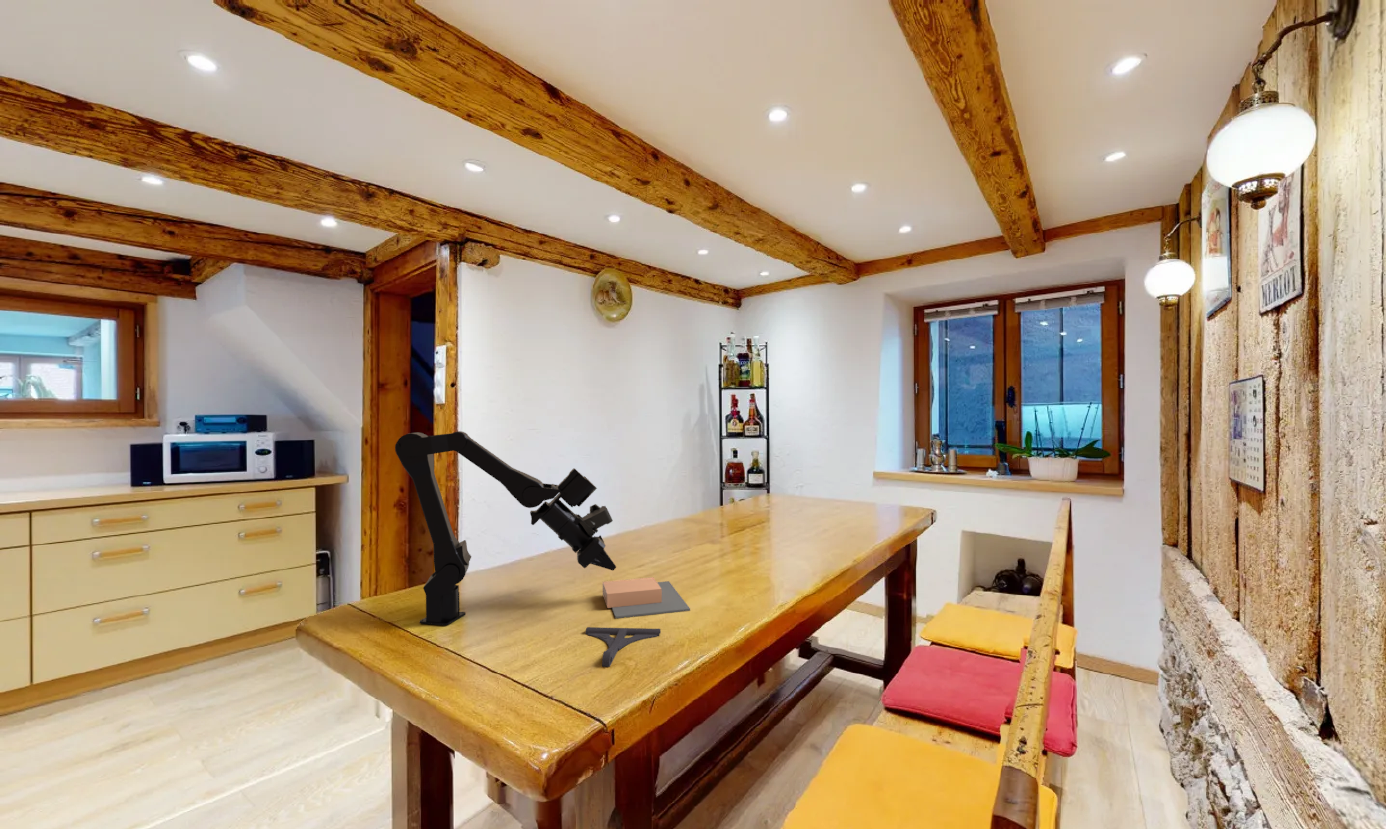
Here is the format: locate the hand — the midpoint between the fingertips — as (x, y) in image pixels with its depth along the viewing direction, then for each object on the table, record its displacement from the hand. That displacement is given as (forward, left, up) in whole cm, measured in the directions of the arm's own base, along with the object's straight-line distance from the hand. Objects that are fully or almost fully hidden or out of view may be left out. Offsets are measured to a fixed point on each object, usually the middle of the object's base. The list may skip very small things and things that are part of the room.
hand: (614, 568), depth 125 cm
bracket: (-23, -8, -8) cm, 26 cm away
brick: (-1, +2, -6) cm, 6 cm away
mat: (+3, -6, -8) cm, 10 cm away
